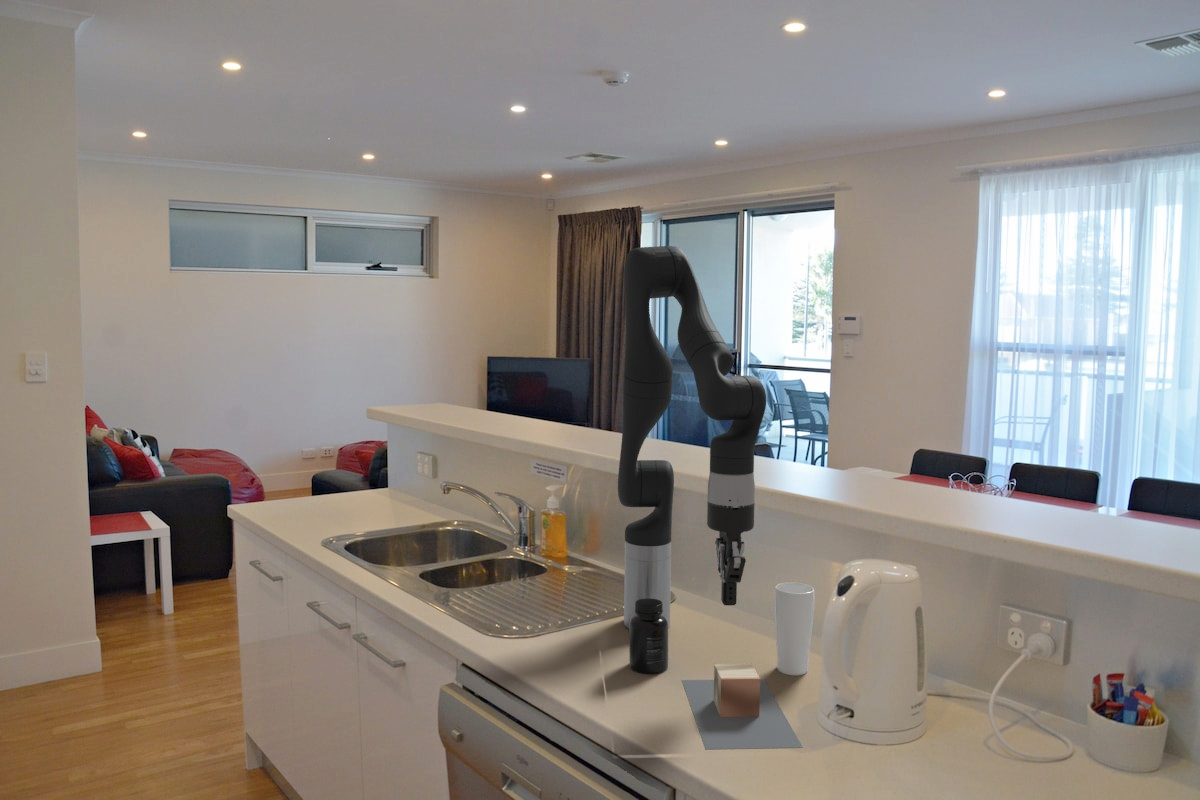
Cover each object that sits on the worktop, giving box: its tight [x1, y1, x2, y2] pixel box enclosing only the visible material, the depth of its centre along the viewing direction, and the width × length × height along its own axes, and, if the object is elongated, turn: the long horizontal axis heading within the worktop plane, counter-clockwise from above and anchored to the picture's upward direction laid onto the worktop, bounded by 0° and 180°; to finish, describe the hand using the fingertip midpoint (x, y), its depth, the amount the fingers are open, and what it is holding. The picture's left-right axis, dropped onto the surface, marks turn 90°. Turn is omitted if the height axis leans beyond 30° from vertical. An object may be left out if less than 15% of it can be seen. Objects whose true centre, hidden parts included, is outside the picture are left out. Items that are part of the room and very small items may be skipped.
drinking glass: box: [773, 581, 815, 676], centre depth 154 cm, size 7×7×15 cm
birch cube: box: [713, 663, 761, 717], centre depth 139 cm, size 6×6×6 cm
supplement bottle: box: [628, 598, 669, 675], centre depth 155 cm, size 7×7×12 cm
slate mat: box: [681, 678, 804, 750], centre depth 138 cm, size 24×14×1 cm, turn 3°
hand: (728, 603), depth 145 cm, fingers closed
